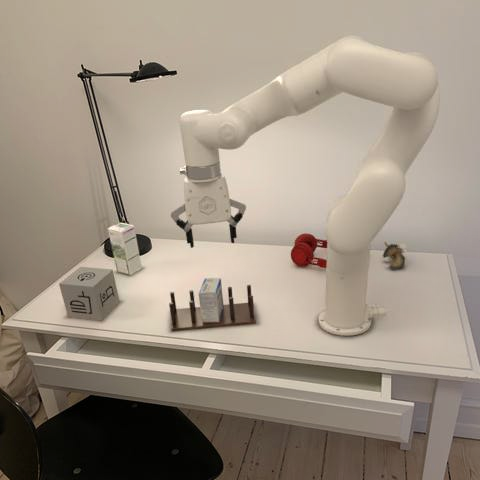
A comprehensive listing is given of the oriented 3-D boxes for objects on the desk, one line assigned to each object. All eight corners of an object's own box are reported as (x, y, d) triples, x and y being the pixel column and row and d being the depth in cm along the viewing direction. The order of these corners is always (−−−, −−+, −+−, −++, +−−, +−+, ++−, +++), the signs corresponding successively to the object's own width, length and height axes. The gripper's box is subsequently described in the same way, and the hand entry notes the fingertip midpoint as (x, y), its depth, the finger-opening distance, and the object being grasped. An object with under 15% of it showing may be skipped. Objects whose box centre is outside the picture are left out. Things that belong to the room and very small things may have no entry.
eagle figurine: (376, 252, 156) (376, 260, 148) (391, 233, 153) (392, 240, 145) (396, 267, 156) (398, 275, 148) (412, 248, 153) (414, 255, 145)
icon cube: (101, 320, 134) (93, 286, 129) (68, 316, 137) (58, 283, 131) (119, 302, 142) (112, 269, 137) (88, 298, 145) (80, 266, 140)
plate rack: (252, 304, 136) (250, 282, 133) (255, 323, 128) (254, 299, 124) (172, 311, 136) (169, 289, 132) (171, 331, 127) (167, 307, 124)
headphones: (287, 268, 152) (355, 281, 149) (290, 246, 148) (360, 259, 145) (294, 248, 164) (357, 259, 161) (297, 227, 160) (362, 238, 157)
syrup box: (142, 268, 160) (134, 224, 152) (129, 276, 156) (121, 231, 148) (129, 264, 163) (120, 221, 155) (116, 272, 158) (106, 228, 151)
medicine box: (219, 323, 128) (216, 292, 123) (201, 323, 128) (198, 292, 124) (224, 307, 134) (221, 277, 130) (207, 307, 135) (204, 277, 130)
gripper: (163, 180, 110) (175, 253, 119) (244, 171, 110) (250, 245, 119) (165, 170, 116) (176, 241, 125) (241, 162, 117) (247, 233, 126)
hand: (212, 243), depth 122 cm, fingers open, 9 cm apart
